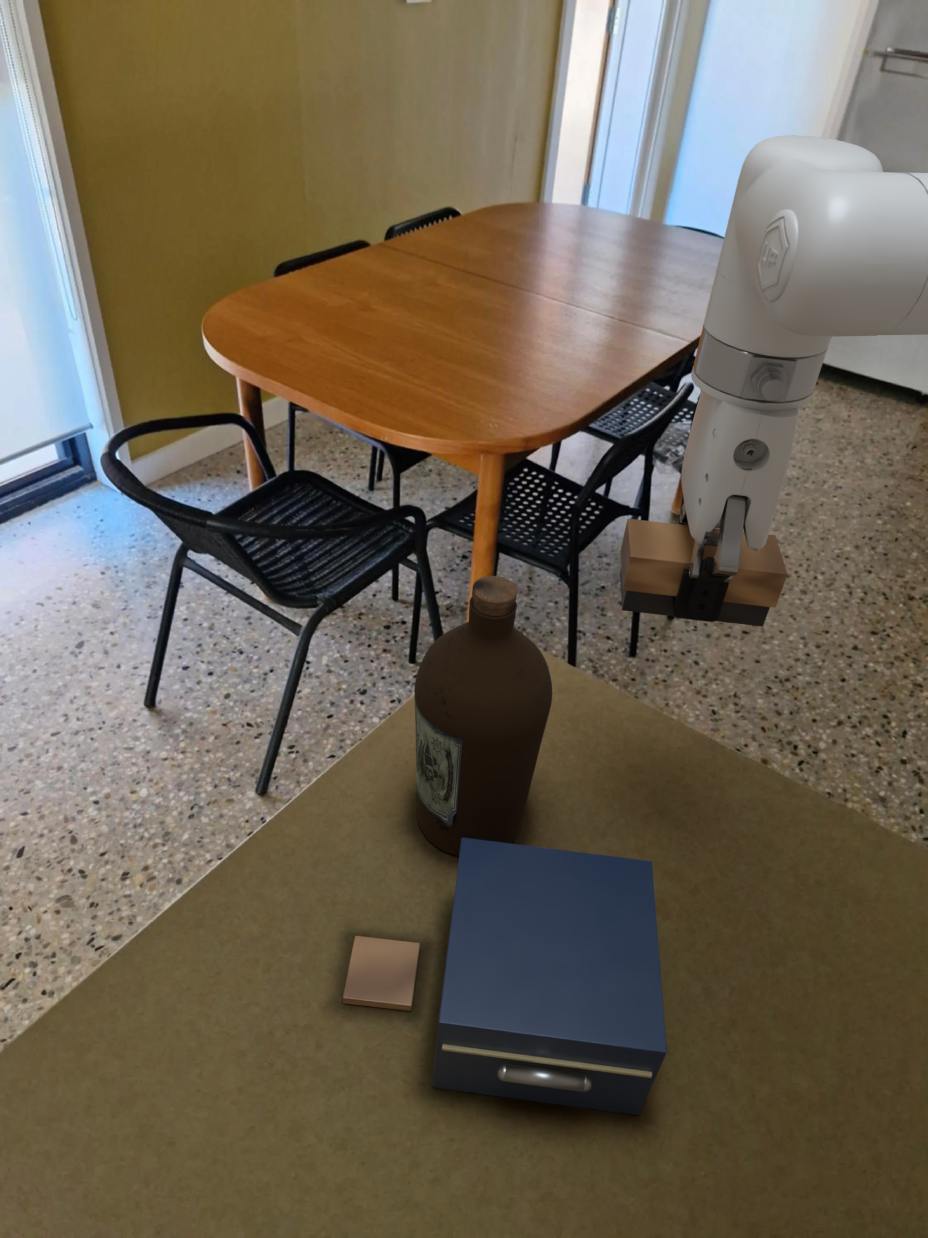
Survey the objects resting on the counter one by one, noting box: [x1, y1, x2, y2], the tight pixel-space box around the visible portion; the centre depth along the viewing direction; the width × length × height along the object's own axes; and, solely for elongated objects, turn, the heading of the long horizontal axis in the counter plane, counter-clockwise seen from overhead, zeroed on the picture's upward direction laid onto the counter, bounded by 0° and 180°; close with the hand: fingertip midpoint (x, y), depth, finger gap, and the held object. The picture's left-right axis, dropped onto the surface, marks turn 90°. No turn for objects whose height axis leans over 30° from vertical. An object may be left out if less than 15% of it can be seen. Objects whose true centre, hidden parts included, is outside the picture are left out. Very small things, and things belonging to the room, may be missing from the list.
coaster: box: [342, 935, 421, 1012], centre depth 66 cm, size 5×5×1 cm
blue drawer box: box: [431, 838, 668, 1116], centre depth 62 cm, size 15×14×9 cm
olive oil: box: [414, 575, 553, 857], centre depth 70 cm, size 11×11×25 cm
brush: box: [619, 518, 789, 627], centre depth 66 cm, size 11×5×5 cm, turn 84°
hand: (690, 591), depth 67 cm, fingers closed on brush, 5 cm apart
